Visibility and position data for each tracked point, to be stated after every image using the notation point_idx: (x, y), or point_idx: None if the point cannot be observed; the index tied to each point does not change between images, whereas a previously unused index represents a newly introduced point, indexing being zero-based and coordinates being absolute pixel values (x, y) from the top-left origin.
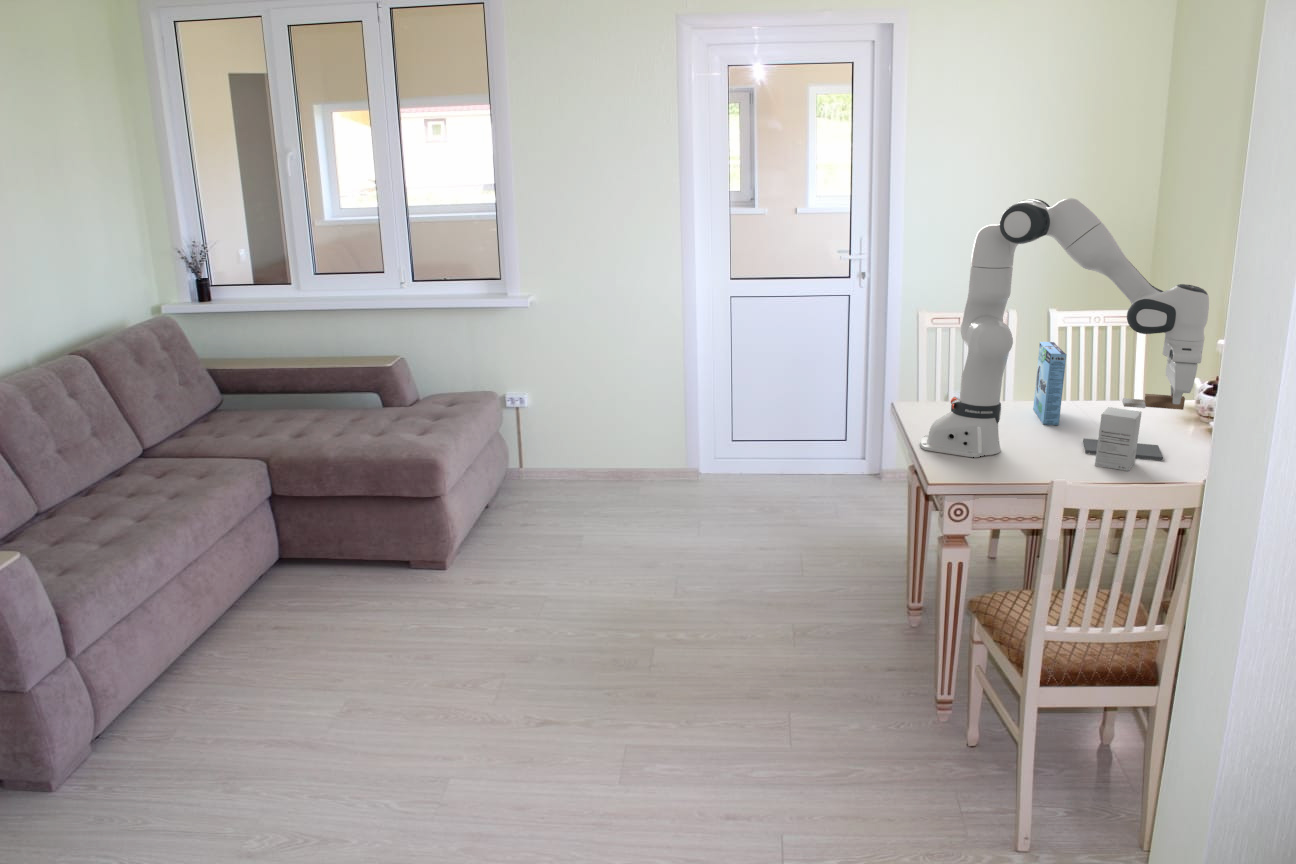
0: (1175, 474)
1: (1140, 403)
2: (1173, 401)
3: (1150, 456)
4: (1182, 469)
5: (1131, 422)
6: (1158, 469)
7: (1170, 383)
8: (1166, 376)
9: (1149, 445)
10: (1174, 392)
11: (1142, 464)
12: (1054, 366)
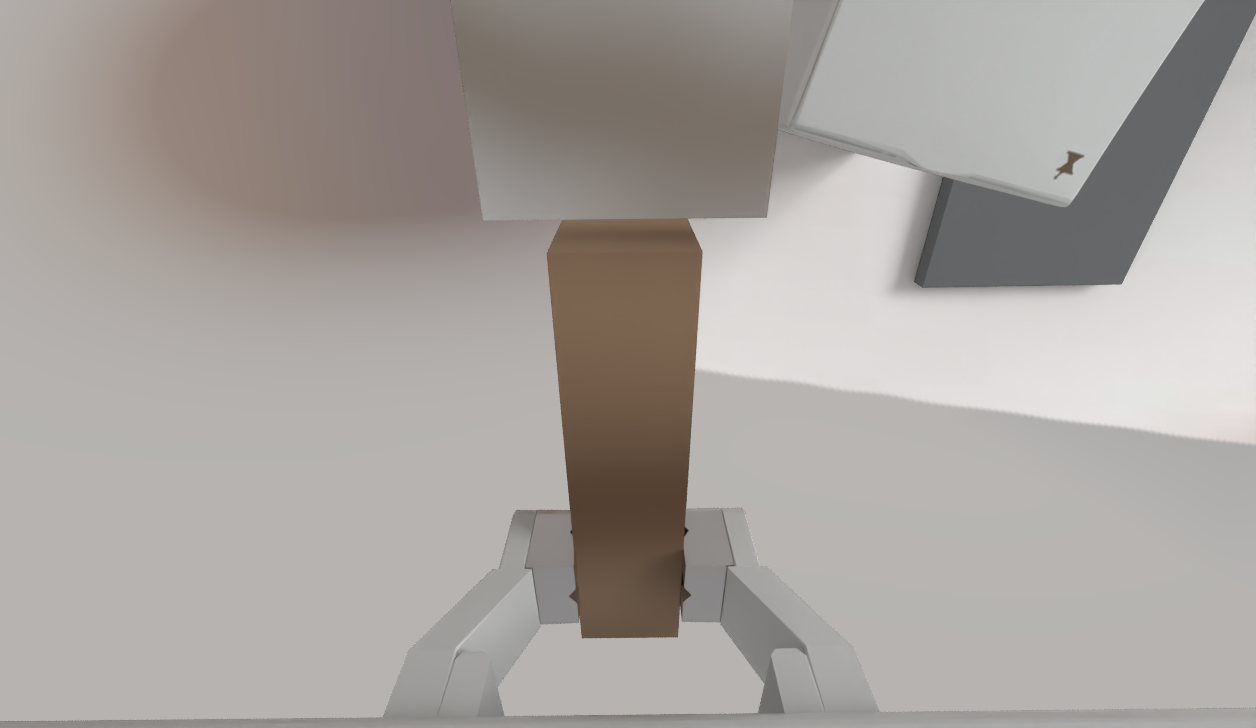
0: (722, 309)
1: (508, 148)
2: (510, 531)
3: (937, 233)
4: (798, 341)
5: (790, 89)
6: (778, 251)
7: (587, 724)
8: (1195, 722)
9: (1120, 246)
10: (422, 642)
11: (843, 187)
12: None
